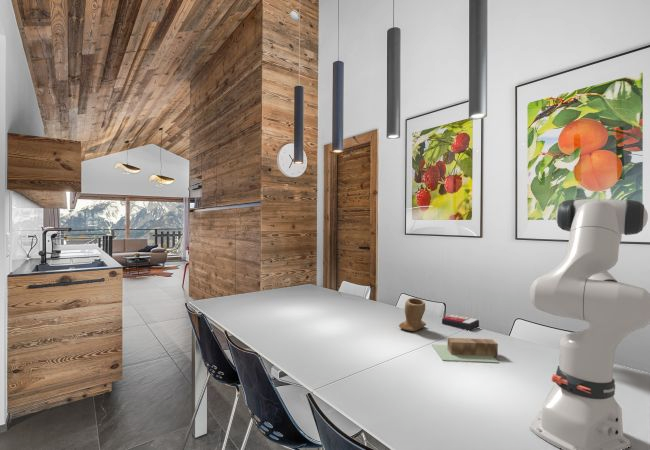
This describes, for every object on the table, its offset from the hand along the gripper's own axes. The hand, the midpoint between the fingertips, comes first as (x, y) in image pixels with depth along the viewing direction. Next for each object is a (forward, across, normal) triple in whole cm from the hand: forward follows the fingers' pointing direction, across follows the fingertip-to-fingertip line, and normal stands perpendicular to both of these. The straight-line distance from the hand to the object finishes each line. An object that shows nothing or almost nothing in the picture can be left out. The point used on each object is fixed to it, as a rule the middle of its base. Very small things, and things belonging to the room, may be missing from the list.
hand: (533, 298), depth 132 cm
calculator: (+15, -39, +24) cm, 48 cm away
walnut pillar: (+14, 0, +21) cm, 25 cm away
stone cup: (+40, -30, +24) cm, 56 cm away
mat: (+27, 0, +24) cm, 36 cm away
